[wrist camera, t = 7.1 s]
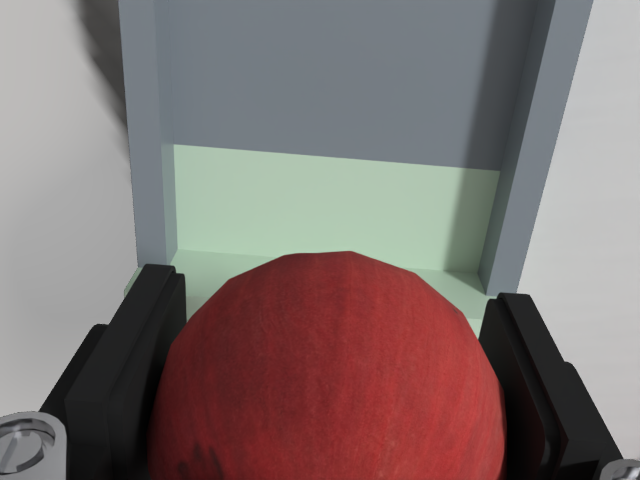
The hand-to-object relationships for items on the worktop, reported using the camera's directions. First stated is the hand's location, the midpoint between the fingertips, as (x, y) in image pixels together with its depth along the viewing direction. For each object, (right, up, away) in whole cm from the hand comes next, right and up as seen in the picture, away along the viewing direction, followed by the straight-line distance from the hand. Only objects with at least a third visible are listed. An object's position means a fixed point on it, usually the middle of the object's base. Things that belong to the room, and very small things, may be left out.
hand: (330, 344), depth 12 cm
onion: (0, +1, +2) cm, 2 cm away
